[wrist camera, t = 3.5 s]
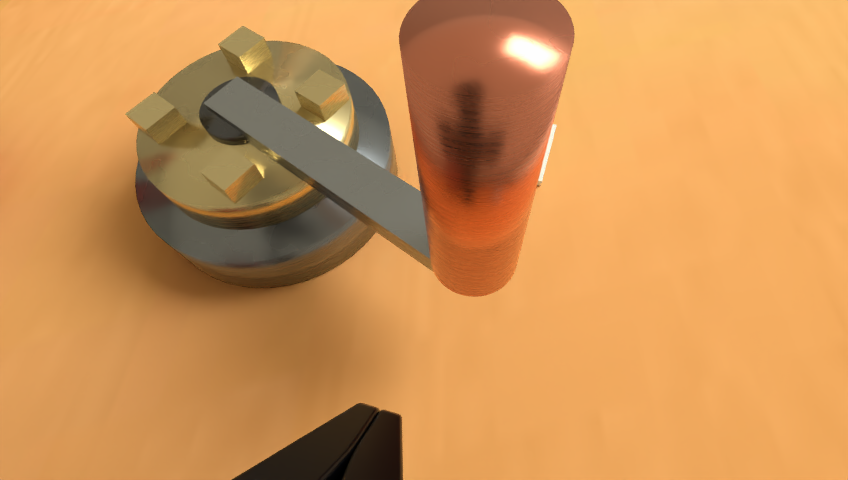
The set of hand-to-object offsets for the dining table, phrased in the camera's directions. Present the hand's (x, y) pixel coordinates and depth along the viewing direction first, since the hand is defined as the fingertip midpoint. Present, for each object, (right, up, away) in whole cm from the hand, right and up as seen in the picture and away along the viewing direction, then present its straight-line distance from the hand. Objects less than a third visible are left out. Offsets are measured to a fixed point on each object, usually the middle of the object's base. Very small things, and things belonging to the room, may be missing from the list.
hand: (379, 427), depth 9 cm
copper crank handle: (-4, +6, +13) cm, 15 cm away
